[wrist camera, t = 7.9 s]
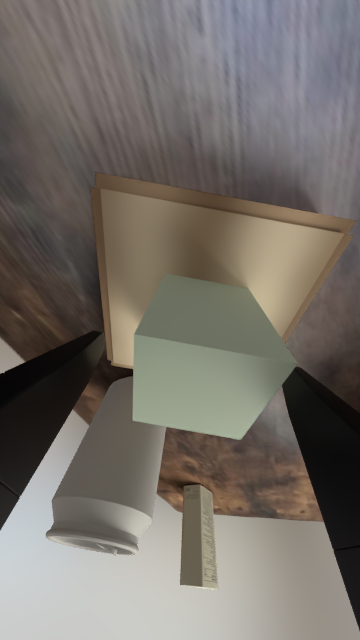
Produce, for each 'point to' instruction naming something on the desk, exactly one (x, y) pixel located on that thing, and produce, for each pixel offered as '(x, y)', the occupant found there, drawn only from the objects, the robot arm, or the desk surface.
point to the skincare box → (198, 539)
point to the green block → (206, 358)
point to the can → (110, 479)
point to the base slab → (205, 252)
